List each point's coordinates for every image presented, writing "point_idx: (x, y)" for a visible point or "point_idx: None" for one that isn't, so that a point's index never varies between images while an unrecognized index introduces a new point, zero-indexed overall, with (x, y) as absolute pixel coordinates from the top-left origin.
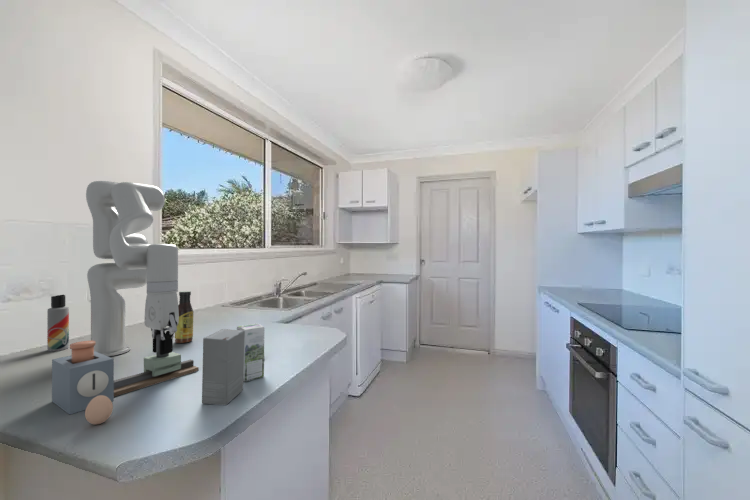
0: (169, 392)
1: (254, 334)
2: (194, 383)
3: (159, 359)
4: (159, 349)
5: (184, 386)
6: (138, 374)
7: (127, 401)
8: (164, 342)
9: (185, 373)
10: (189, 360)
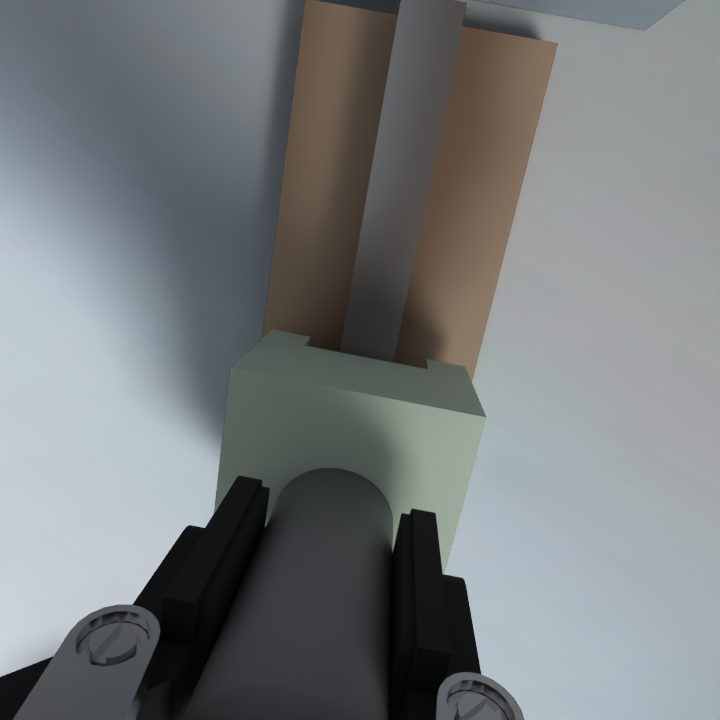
0: (23, 247)
1: None
2: (32, 422)
3: (243, 431)
4: (284, 526)
5: (39, 361)
6: (389, 272)
7: (122, 2)
8: (150, 604)
9: None
10: None
